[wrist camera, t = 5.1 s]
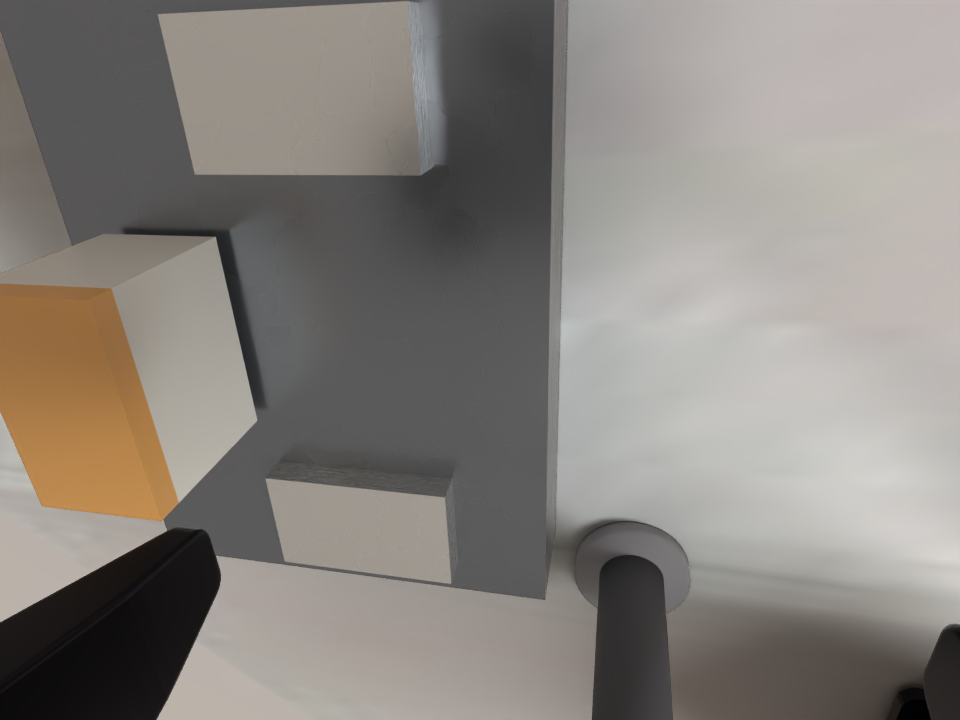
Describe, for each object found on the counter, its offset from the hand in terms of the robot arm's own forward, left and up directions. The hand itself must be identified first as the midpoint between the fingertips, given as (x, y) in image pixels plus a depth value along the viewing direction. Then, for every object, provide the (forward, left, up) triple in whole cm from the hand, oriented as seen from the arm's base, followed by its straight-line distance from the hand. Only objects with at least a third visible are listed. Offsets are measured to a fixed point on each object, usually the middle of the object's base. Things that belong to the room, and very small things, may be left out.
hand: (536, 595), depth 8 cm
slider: (0, +10, -7) cm, 12 cm away
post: (-9, -2, -10) cm, 14 cm away
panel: (0, +7, -10) cm, 12 cm away
